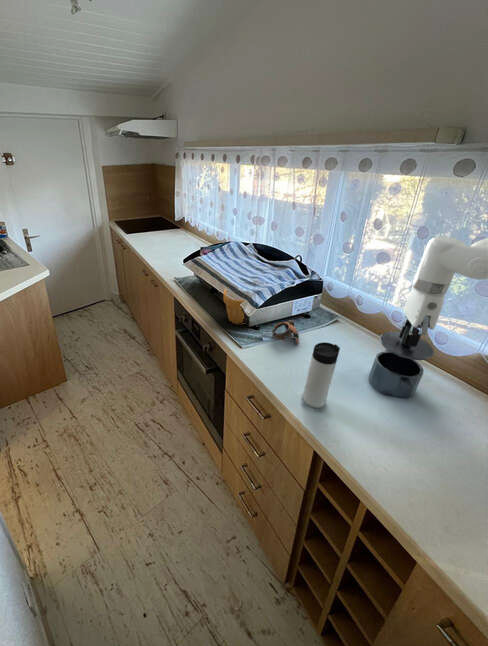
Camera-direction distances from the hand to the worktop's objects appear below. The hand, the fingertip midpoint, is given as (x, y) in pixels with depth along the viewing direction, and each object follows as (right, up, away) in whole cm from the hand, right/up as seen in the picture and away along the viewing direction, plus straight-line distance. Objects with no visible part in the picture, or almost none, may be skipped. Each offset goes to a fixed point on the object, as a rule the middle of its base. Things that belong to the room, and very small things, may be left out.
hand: (407, 341), depth 89 cm
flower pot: (-42, +4, +44) cm, 61 cm away
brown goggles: (-26, -3, +31) cm, 40 cm away
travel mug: (-27, -19, +2) cm, 33 cm away
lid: (0, -1, +1) cm, 2 cm away
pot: (0, -15, +8) cm, 17 cm away
